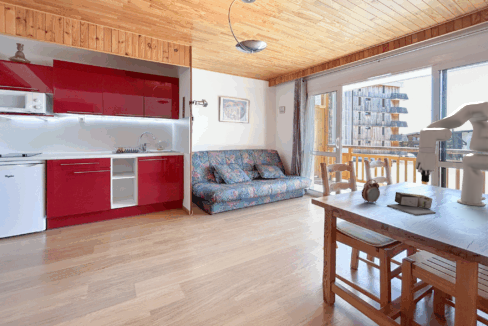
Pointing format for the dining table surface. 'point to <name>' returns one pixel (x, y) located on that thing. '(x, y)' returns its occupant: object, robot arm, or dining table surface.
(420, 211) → the mat
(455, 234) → the dining table surface
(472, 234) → the dining table surface
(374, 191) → the alarm clock
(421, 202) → the coffee box
